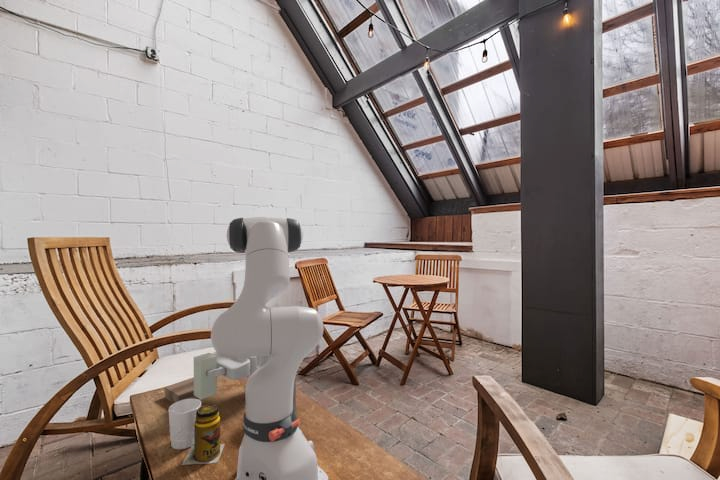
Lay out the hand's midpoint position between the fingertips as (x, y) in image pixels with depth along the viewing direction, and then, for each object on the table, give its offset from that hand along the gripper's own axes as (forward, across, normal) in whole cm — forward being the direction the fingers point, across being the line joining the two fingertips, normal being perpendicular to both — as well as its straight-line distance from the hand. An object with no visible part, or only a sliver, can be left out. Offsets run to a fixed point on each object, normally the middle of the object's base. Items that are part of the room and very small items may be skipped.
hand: (202, 371), depth 107 cm
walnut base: (-1, -15, +13) cm, 20 cm away
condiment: (+9, +20, +14) cm, 26 cm away
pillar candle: (-15, +19, +14) cm, 28 cm away
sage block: (-1, 0, +8) cm, 8 cm away
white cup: (+10, +11, +14) cm, 20 cm away
